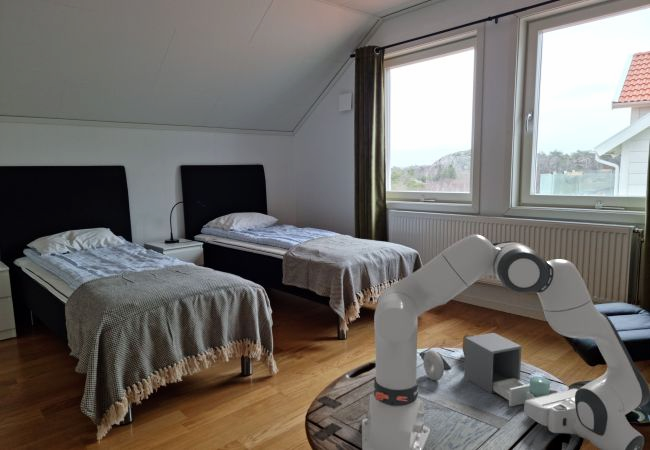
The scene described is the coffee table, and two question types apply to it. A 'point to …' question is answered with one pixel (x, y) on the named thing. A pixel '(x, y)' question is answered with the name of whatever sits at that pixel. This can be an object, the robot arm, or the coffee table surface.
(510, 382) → the tray
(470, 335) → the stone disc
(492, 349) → the housing
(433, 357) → the donut
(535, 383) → the sage green cylinder
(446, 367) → the smartphone
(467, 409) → the coffee table surface
